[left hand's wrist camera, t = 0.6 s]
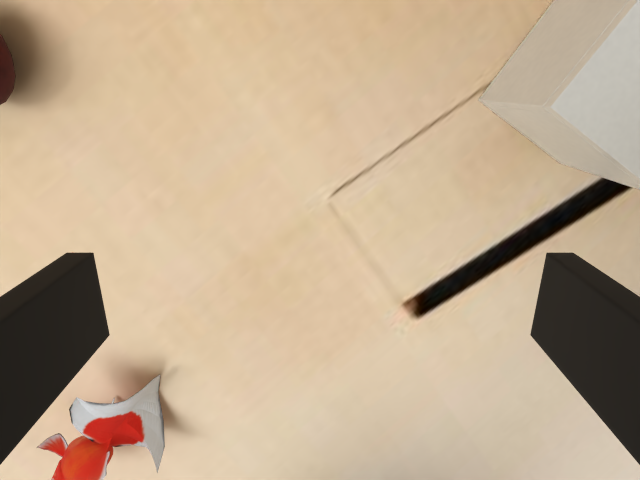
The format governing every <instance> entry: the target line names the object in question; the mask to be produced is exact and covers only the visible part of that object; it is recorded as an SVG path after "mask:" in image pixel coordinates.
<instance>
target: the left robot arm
mask: <svg viewBox="0 0 640 480" xmlns="http://www.w3.org/2000/svg"><path fill="white" fill-rule="evenodd" d="M108 336H109V330H108V325H107V320H106V315H105V310H104V305H103V299H102V294H101V289H100V284H99V279H98V274H97V269H96V264H95V259H94V254H93V253H66V254H64V255H63V256H61V257H60V258H58V259H57V260H55V261H54V262H52V263H51V264H49V265H48V266H46V267H45V268H43V269H42V270H40V271H39V272H37V273H36V274H34V275H33V276H31V277H30V278H28V279H27V280H25V281H24V282H22V283H21V284H19V285H18V286H16V287H15V288H13V289H12V290H10V291H8V292H7V293H5V294H4V295H2V296H1V297H0V464H1V463H2V462H3V461H4V460H5V458H6V457H7V456H8V455H9V454H10V453H11V451H12V450H13V449H14V448H15V447H16V445H17V444H18V443H19V442H20V441H21V439H22V438H23V437H24V436H25V435H26V434H27V432H28V431H29V430H30V429H31V428H32V426H33V425H34V424H35V423H36V422H37V420H38V419H39V418H40V417H41V416H42V415H43V413H44V412H45V411H46V410H47V409H48V407H49V406H50V405H51V404H52V403H53V401H54V400H55V399H56V398H57V397H58V396H59V394H60V393H61V392H62V391H63V390H64V388H65V387H66V386H67V385H68V384H69V382H70V381H71V380H72V379H73V378H74V377H75V375H76V374H77V373H78V372H79V371H80V369H81V368H82V367H83V366H84V365H85V363H86V362H87V361H88V360H89V359H90V358H91V356H92V355H93V354H94V353H95V352H96V350H97V349H98V348H99V347H100V346H101V344H102V343H103V342H104V341H105V340H106V339H107V337H108ZM531 336H532V337H533V339H534V340H535V341H536V342H537V343H538V344H539V346H540V347H541V348H542V349H543V350H544V352H545V353H546V354H547V355H548V356H549V358H550V359H551V360H552V361H553V362H554V363H555V365H556V366H557V367H558V368H559V369H560V371H561V372H562V373H563V374H564V375H565V377H566V378H567V379H568V380H569V381H570V382H571V384H572V385H573V386H574V387H575V388H576V390H577V391H578V392H579V393H580V394H581V396H582V397H583V398H584V399H585V400H586V401H587V403H588V404H589V405H590V406H591V407H592V409H593V410H594V411H595V412H596V413H597V415H598V416H599V417H600V418H601V419H602V420H603V422H604V423H605V424H606V425H607V426H608V428H609V429H610V430H611V431H612V432H613V434H614V435H615V436H616V437H617V438H618V439H619V441H620V442H621V443H622V444H623V445H624V447H625V448H626V449H627V450H628V451H629V453H630V454H631V455H632V456H633V457H634V458H635V460H636V461H637V462H638V463H639V464H640V297H639V296H638V295H636V294H635V293H633V292H632V291H630V290H628V289H627V288H625V287H624V286H622V285H621V284H619V283H618V282H616V281H615V280H613V279H612V278H610V277H609V276H607V275H606V274H604V273H603V272H601V271H600V270H598V269H597V268H595V267H594V266H592V265H591V264H589V263H588V262H586V261H585V260H583V259H582V258H580V257H579V256H577V255H576V254H574V253H547V254H546V259H545V264H544V269H543V274H542V279H541V284H540V289H539V294H538V299H537V305H536V310H535V315H534V320H533V325H532V330H531Z"/></svg>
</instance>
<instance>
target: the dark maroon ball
mask: <svg viewBox="0 0 640 480" xmlns="http://www.w3.org/2000/svg"><path fill="white" fill-rule="evenodd" d="M14 82H15V71H14V65H13V60H12V56H11V53H10V51H9V49H8V47H7V45H6V43H5V41H4V39H3V37H2V35H1V34H0V104H2V103H4V102H6V101H7V99H8V97H9V96H10V94H11V93H12V91H13V89H14Z"/></svg>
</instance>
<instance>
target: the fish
mask: <svg viewBox="0 0 640 480" xmlns="http://www.w3.org/2000/svg"><path fill="white" fill-rule="evenodd" d="M159 384H160V375H158V376H157V377H155V378H154V379H153V380H152V381H151V382H149V383H148V384H147V385H146V386H145V387H144V388H143V389H142V390H140V391H139V392H137V393H136V394H135V395H133V396H132V397H130V398H129V399H127V400H126V401H123V402H118V403H114V399H115V398H114V399H113V401H112V404H99V403H92V402H86V401H83V400H81V399H79V398H77V397H76V399H75V401H74V402H73V404H72V405H71V407H70V409H69V411H70V416H71V421H72V424H73V425H74V426H75V428H76V429H77V430H78V431H79V432H80V433H82V434H83V435H84V436H81V437H78V438H77V439H75V440H73V441H72V442H71V443H70V444H69V446H68V445H67V443H66V440H65V439H64V437H63V436H62V435H61V434H59V433H58V434H55V435H53V436H51V437H49V438H47V439H46V440H45V441H44V442H43V443H41V444H40V445H39V446H38V448H41V449H44V450H49V451H51V452H55V453H56V454H58V455H59V456H61V457H63V458H62V459H61V460H60V461H59V463H58V466H57V468H56V470H55V473H54V475H53V477H52V480H103V479H104V477H105V476H106V466H107V464H108V463H109V461H110V459H111V457H112V455H113V447H112V446H114V447H118V446H127V445H136V446H143V447H146V448H147V449H148V450H149V451H150V453H151V454H152V456H153V459H154V462H155V465H156V469H157V472H158V469H159V465H160V462H161V458H162V454H163V451H164V447H165V444H164V422H163V416H162V410H161V405H160V399H159V392H158V390H159Z"/></svg>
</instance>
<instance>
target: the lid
mask: <svg viewBox="0 0 640 480" xmlns="http://www.w3.org/2000/svg"><path fill="white" fill-rule="evenodd" d="M544 108H546V109H547V110H548V111H549V112H551V113H552V114H553V115H554V116H556V117H557V118H558V119H559V120H561V121H562V122H563V123H564V124H566V125H567V126H568V127H569V128H571V129H572V130H573V131H574V132H576V133H577V134H578V135H579V136H581V137H582V138H583V139H584V140H586V141H587V142H588V143H589V144H591V145H592V146H593V147H594V148H596V149H597V150H598V151H599V152H601V153H602V154H603V155H604V156H606V157H607V158H608V159H609V160H611V161H612V162H613V163H614V164H616V165H617V166H618V167H619V168H621V169H622V170H623V171H624V172H626V173H627V174H628V175H629V176H631V177H632V178H633V179H634V180H636V181H637V182H638V183H639V184H640V0H629V2H628V3H627V4H626V5H625V7H624V8H623V9H622V10H621V11H620V13H619V14H618V15H617V16H616V18H615V19H614V20H613V21H612V22H611V24H610V25H609V26H608V27H607V29H606V30H605V31H604V32H603V34H602V35H601V36H600V37H599V38H598V40H597V41H596V42H595V43H594V45H593V46H592V47H591V48H590V50H589V51H588V52H587V53H586V54H585V56H584V57H583V58H582V59H581V61H580V62H579V63H578V64H577V65H576V67H575V68H574V69H573V70H572V72H571V73H570V74H569V75H568V77H567V78H566V79H565V80H564V81H563V83H562V84H561V85H560V86H559V88H558V89H557V90H556V91H555V93H554V94H553V95H552V96H551V97H550V99H549V100H548V101H547V102H546V104H545V105H544Z"/></svg>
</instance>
